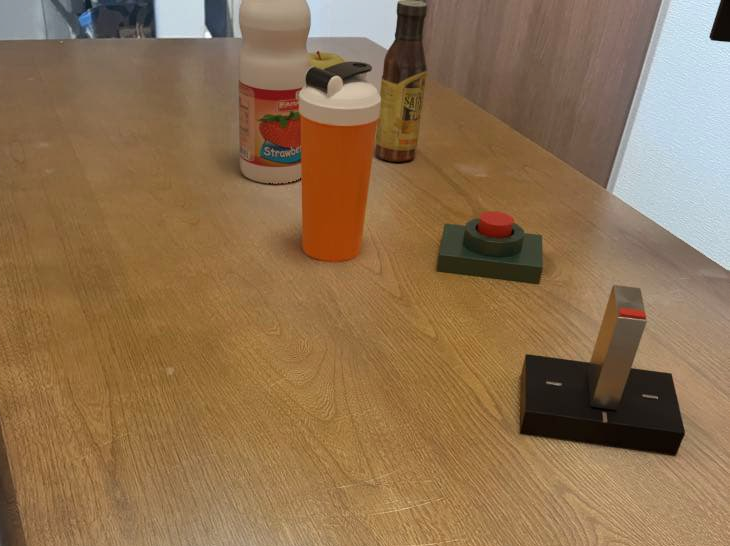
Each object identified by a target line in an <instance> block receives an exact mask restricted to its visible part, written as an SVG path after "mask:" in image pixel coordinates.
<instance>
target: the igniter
mask: <svg viewBox="0 0 730 546" xmlns="http://www.w3.org/2000/svg"><path fill="white" fill-rule="evenodd" d="M479 218H480V217H478V218H477V217H476V218H473V219H470V220H469V221H467V222H466V223H465V225H461V224H453V223H444V224H443V229H442V234H441V242H440V246H439V252H438V259H437V265H436V266H437V267H436V272H437V273H445V274H452V275H453V274H455V275H462V276H467V277H468V276H469V277H477V278H484V279H485V278H486V279H493V280H499V281H500V280H502V281H508V282H516V283H524V284H532V285H540V283H541V277H542V274H543V269H544V254H543V253H544V252H543V235H542V234H535V233H528V232H525V229H524V228H523V227H522V226H520V225H519V224H518V223H515V222H514V224H513V229H512V234H511V236H510V237H507V238H492V237H487V236H485V235H482V234H480V233H479V232H478V231H477V230H478V224H479Z"/></svg>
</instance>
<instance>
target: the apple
mask: <svg viewBox="0 0 730 546" xmlns="http://www.w3.org/2000/svg"><path fill="white" fill-rule="evenodd" d="M308 54H309V59H310V67H317V68H320V69H322V70H323V69H325V68H328V67H330V66H333V65H336V64H339V63H343V62H346V61H345V59H344V58H343V57H342V56H340V55H338V54H335V53H332V52H331V53H330V52H324V51H323V52H321V51H320V50H317V51H316V52H308Z"/></svg>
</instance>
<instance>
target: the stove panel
mask: <svg viewBox="0 0 730 546" xmlns="http://www.w3.org/2000/svg"><path fill="white" fill-rule="evenodd" d="M589 364H590V361H589V362H588V361H581V360H573V359H566V358H558V357H552V356H545V355H544V356H543V355H536V354H528V353H526V354H525V356H524V360H523V364H522V368H521V373H520V392H519V394H520V395H519V397H520V399H519V401H520V402H519V433H520V434H521V435H527V436H528V435H529V436H535V437H543V438H551V439H557V440H565V441H571V442H580V443H584V444H585V443H586V444H592V445H600V446H608V447H614V448H622V449H627V450H633V451H634V450H635V451H640V452H641V451H643V452H649V453H655V454H663V455H671V456H677V455H678V452H679V449H680V447H681V445H682V442H683V439H684V437H685V435H686V431H685V426H684V422H683V418H682V413H681V409H680V405H679V399H678V396H677V395H678V394H677V391H676V386H675V381H674V377H673V373H670V372H666V371H656V370H649V369H640V368H634V367H631V370H630V373H629V376H628V379H627V382H626V385H625V388H624V391H623V394H622V397H621V400H620V403H619V406H618V409H617V410H611V409H603V408H596V407H590V398H589V386H588V375H587V371H588V367H589Z"/></svg>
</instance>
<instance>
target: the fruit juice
mask: <svg viewBox="0 0 730 546" xmlns="http://www.w3.org/2000/svg"><path fill="white" fill-rule="evenodd" d="M238 25H239V30H240V34H241V38H242V46H241V49H240V51H239V55H238V66H237V68H238V69H237V75H238V77H237V78H238V79H237V81H238V137H239V143H238V145H239V168H240V172H241V173H242V175H243V176H244V177H245V178H247V179H249V180H251V181H254V182H257V183H263V184H269V183H271V184H270V185H282V184H281V183H283V184H289V183H288V182H290V183H293V182H292V181H294V182H297V181H299V180H301V179H302V174H301V115H300V114H299V112H298V110H299V93H300V91H301V90H302V88H303V87H304V86H305V74H306V72H307V70H308V69H309V68H310V59H309V52H308V47H307V45H308V44H307V43H308V39H309V35H310V30H311V25H312V14H311V8H310V6H309V3H308V2H307V0H241V3H240V5H239V9H238ZM300 178H301V179H300ZM298 179H299V180H298ZM296 180H297V181H296ZM272 183H273V184H272ZM278 183H279V184H278Z"/></svg>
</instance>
